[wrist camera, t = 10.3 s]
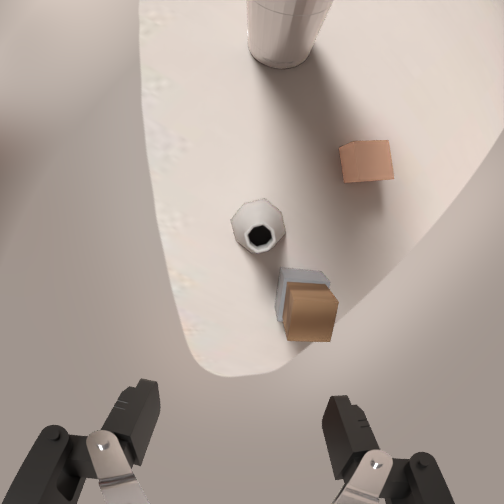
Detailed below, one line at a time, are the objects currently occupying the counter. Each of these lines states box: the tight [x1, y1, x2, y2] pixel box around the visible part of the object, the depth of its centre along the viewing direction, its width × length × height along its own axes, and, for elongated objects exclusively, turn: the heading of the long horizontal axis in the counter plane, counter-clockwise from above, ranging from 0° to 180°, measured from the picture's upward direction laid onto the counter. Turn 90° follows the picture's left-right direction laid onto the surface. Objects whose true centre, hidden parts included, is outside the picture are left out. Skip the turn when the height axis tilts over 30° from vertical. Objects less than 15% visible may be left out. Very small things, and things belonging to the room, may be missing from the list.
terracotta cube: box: [339, 140, 394, 183], centre depth 33 cm, size 5×5×6 cm
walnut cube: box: [282, 282, 339, 342], centre depth 32 cm, size 5×5×6 cm
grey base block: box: [275, 267, 330, 321], centre depth 38 cm, size 6×6×5 cm
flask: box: [231, 198, 286, 254], centre depth 33 cm, size 7×7×10 cm
